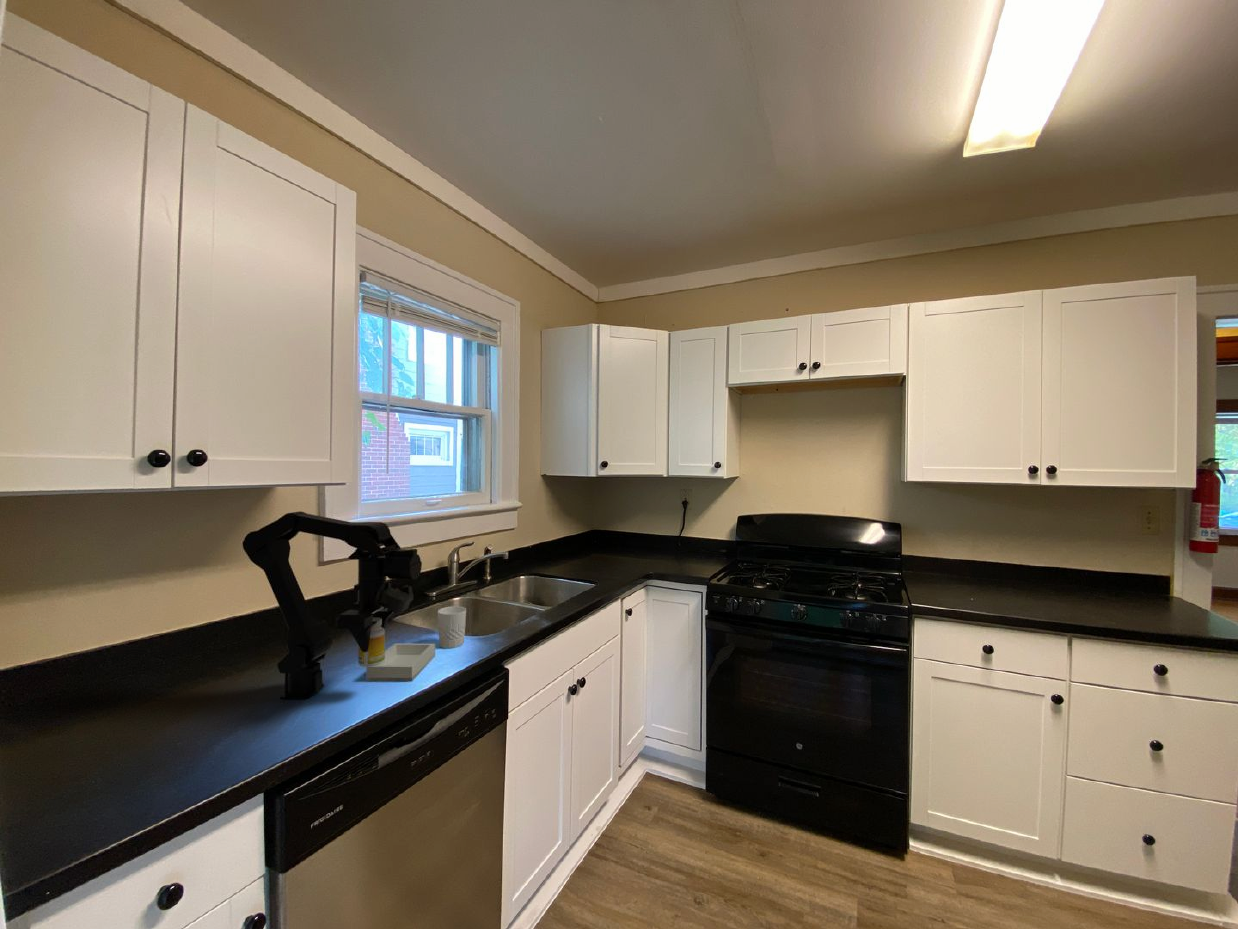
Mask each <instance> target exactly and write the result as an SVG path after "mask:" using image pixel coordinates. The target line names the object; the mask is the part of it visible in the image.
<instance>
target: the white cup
mask: <svg viewBox="0 0 1238 929" xmlns="http://www.w3.org/2000/svg"><path fill="white" fill-rule="evenodd" d="M466 620H467V608H466V607H464V606H458V605H456V606H455V605H452V606H445V607H442V608H440V609H438V610H437V627H438V628H437V631H438V642H439V646H440V647H441V648H442V649H456V648H458V647H459V648H460V647H461V646H463V645H464V643H465V634H466V632H465V631H466Z"/></svg>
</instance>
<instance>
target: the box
mask: <svg viewBox="0 0 1238 929" xmlns="http://www.w3.org/2000/svg"><path fill="white" fill-rule="evenodd" d="M435 657H436V643H397V642H396V643H393V644H392V645H391V646H390V647H389V648H388V649H385V660H384V661H383V662H382V663H381V664H379V665H375V666H370V667H366V674H365V675H366V678H365V679H366V682H413V681H414V680H415V679H416V678H417V676H418V675H419V674H420V673H421V672H422V671H423V670H424V669H425V668H426V667H427V666H428V664H430V662H432V660H433V659H434V658H435Z"/></svg>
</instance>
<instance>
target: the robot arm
mask: <svg viewBox="0 0 1238 929" xmlns="http://www.w3.org/2000/svg"><path fill="white" fill-rule="evenodd" d="M299 533H304V534H309V535H314V536H320V537H325V538H330V539H336V540H340V541H343V542H344V543H346V544H347V545H349V547H352V548H355V550H354V551H353V553H351V554H350V555H349V556H348V559H349V560H358V561H357V562H358V563H357V565H358V566H357V569H358V570H357V573H358V574H357V581H358V582H357V583H356V584H354V585H353V590H354V591H357V601H356V602H354V603H353V609H348V610H346V611H344V612H342V613H340V614H339V615H338V616H337V617H336V618H335V629H336V630H337V629H342V630H343V629H346V630H348V631H349V632H350V634H351V636H352V637H353V639H354V640H355V642H356V643H357V645H359V647H360V649H361V650H362V652H367V651H368V648H369V641H370V633H371V628H372V627H373V626H374V625H375V624H376V623H377V622H372V620H373V618H374V617H378V618H381V619H382V625H381V627H382V628H384V630H386V626H387V623H388V620H389V618H390V616H392V615H393V614H394V613H396V614H403V613H404V611H407V610H408V609H409V607H410V605H411V604H410V603H411V602H412V601H413V600H414V598H415V597H414V593H413V587H412V586H411V585H408V584H406V585H405V586H403V587H401V589H400V588H393V587H392V582H391V580H413V581H414V580H417V579H419V577H420V574H421V572H422V567H423V566H422V565H423V564H422V560H421V557H420V556H421V555H419V554H418V549H417V548H410V549H402V548H401V546H400V545H399V544H398V542H397V541H396V539H395V538H394V536H393V535H392V532H391V530H390V528H389V526H388V525H387V523H385V522H382V521H359V522H357V521H356V522H353V521H347V520H342V519H336V518H331V517H328V516H326V517H325V516H321V515H316V514H311V513H306V512H304V511H302V510H301V511H293V512H287V513H285V514H284V515H282V516H281V517H280V518H278V519H277V520H274V521H273V522H270V523H269V524H267V525H265V526H263V527H260V528H259V529H258V530H253V531H250V532H249V533H247V534H246V536H245V537H244V539H243V541H242V549H243V550H244V552H245V554H246V556H247V557H248V558H249V560H250V562H251V563H253V564H254V565H255V566H257V567H259V569H261V570H262V571H263V572H264V574H265V577H266V579H267V581H268V584H269V585H270V588H271V590H272V593H273V595H274V597H275V600H276V603H277V604H278V606H279V609H280V611H281V614H282V616H283V618H284V621H285V623H286V625H287V628H288V631H287V637H286V646H287V650H288V653H286V655H285V656H284V657H283V658H282V659H281V660H280V661H279V662H278V663H277V668H278V672H279V674H284V692H283V693H282V694H281V695H279V699H285V700H286V699H289V700H290V699H294V700H297V699H299V700H300V699H301V700H302V699H303V700H305V699H306V700H307V699H310V698H311V697H312V696H314V695H316V694H317V692H319V691H320V690H322V689H323V688H324V687H325V683H323V669H321V662H320V661H322V660H324V659H325V657H326V655H327V652H329V651H330V650H331V647H332V644H333V637H332V636H334V633H332V631H331V630H330V628H329V624H328V622H327V620H326V619H324V620H321V621H319V620H317V619H316V618H315V617H314V616H313V615H312V612H311V610H310V608H309V605H308V603H307V600H306V598H305V596H304V593H303V592H302V590H301V587H300V585H299V582H298V580H297V577H296V575H295V573H294V571H293V568H292V566H291V564H290V561H289V559H290V554H291V544H290V541H291V540H292V539H294V538H295V537H296V536H297V535H298V534H299ZM387 578H388V579H390V580H387Z"/></svg>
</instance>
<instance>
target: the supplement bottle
mask: <svg viewBox="0 0 1238 929" xmlns="http://www.w3.org/2000/svg"><path fill="white" fill-rule="evenodd" d="M372 622H377V623H376V624H375V625H374V626H373V627H372V628H371V633H370V641H369V648H368V651H367V652H362V650H361V649H360V647H359V645H358V644H357V645H358V646H357V647H358V660H357V661H358V666H361V667H364V668H367V667H370V666H375V665H379V664H381V663H382V662H383V661H384V660H385V651H386V631H385V630H386V629H385V630H384V628H382V627H381V625H382V619H381V618H378V617H374V618H373V620H372Z"/></svg>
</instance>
